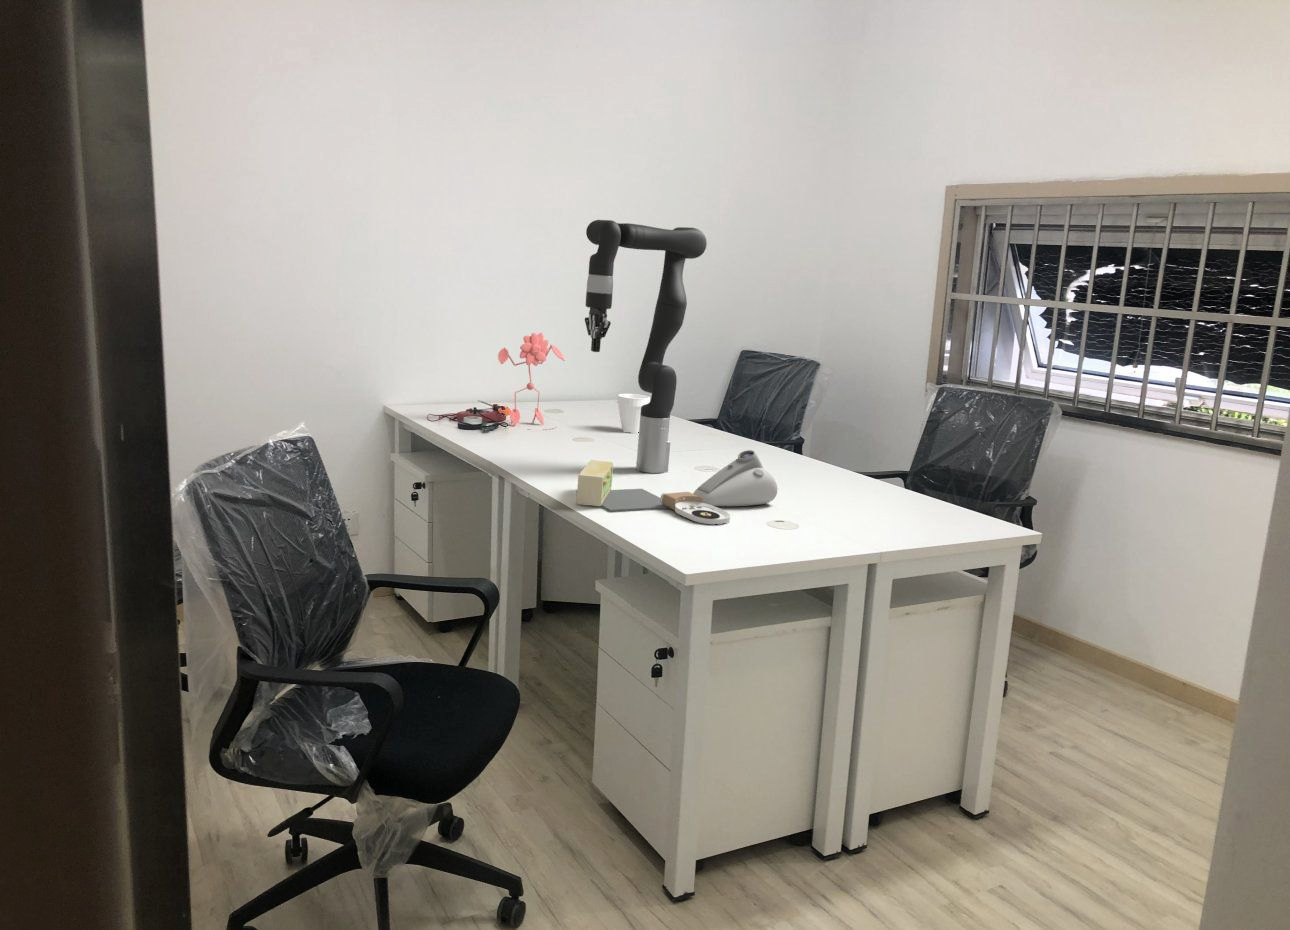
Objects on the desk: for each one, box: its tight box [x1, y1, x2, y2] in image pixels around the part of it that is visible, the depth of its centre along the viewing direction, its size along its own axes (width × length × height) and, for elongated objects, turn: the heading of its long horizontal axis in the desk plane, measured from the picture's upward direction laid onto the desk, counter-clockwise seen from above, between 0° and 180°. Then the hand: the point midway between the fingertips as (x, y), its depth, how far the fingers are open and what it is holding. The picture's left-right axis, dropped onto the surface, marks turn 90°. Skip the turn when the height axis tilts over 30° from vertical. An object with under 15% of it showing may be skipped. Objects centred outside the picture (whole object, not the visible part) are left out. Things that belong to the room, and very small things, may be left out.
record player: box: [660, 490, 731, 525], centre depth 261 cm, size 12×3×20 cm
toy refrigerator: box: [576, 459, 614, 507], centre depth 269 cm, size 8×7×21 cm
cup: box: [616, 393, 651, 434], centre depth 377 cm, size 12×12×14 cm
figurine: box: [497, 332, 565, 431], centre depth 368 cm, size 15×26×35 cm, turn 125°
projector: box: [692, 449, 779, 507], centre depth 279 cm, size 22×23×15 cm
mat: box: [599, 488, 672, 513], centre depth 270 cm, size 20×20×1 cm
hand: (595, 351), depth 290 cm, fingers closed
